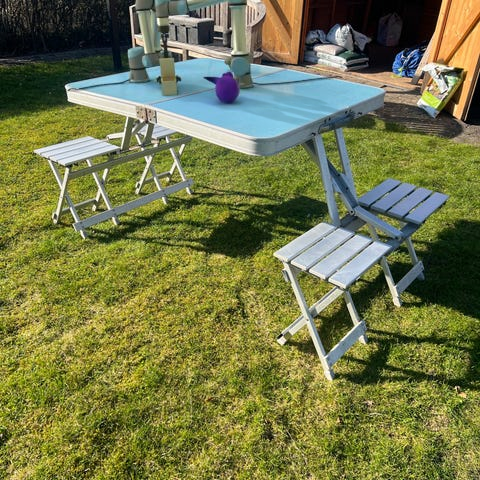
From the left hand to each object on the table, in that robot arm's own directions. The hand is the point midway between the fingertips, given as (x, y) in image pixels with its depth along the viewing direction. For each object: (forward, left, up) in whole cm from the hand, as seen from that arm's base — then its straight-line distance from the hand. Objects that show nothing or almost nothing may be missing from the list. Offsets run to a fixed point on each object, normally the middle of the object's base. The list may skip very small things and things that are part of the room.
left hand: (168, 82), depth 302 cm
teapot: (+66, +61, -6) cm, 90 cm away
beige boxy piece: (0, 0, +9) cm, 9 cm away
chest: (-1, -3, -6) cm, 7 cm away
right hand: (+1, +5, +11) cm, 12 cm away
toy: (+28, -37, -6) cm, 47 cm away
